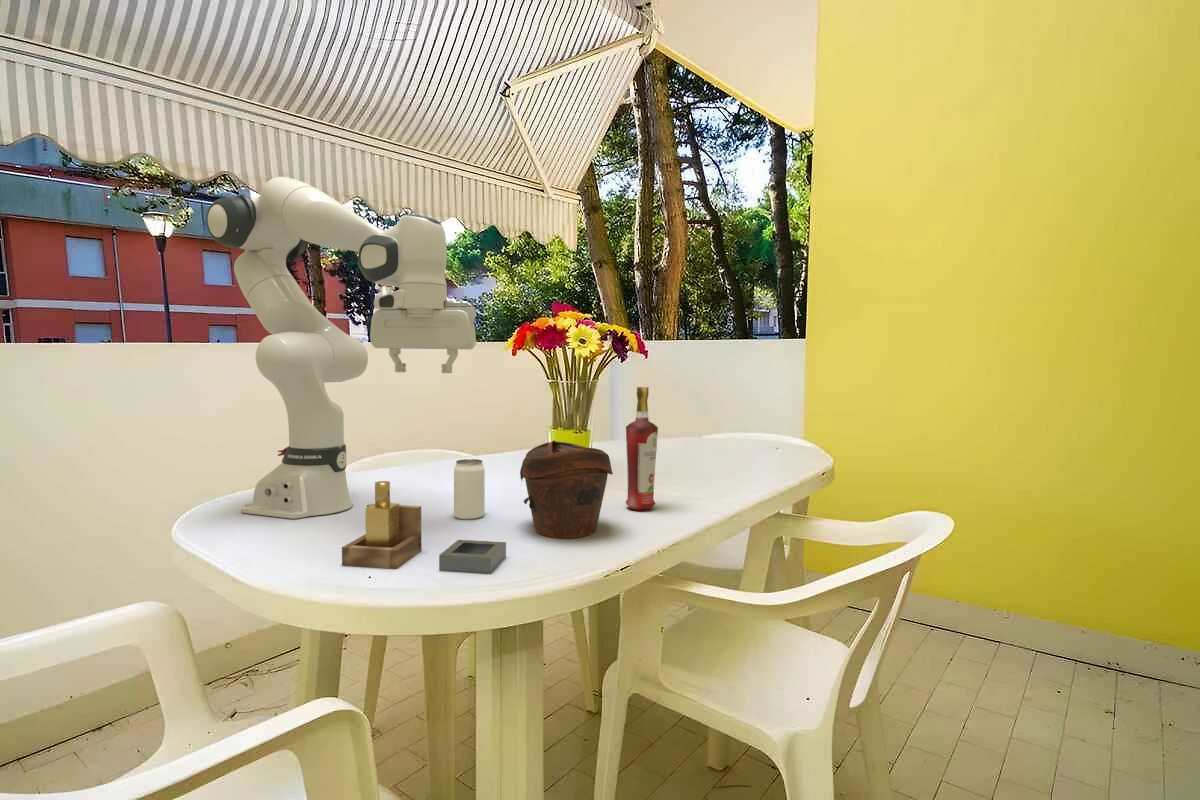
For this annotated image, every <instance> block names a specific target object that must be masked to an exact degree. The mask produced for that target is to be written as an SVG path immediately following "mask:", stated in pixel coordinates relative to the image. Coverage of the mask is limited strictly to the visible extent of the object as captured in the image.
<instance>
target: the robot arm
mask: <svg viewBox="0 0 1200 800" xmlns="http://www.w3.org/2000/svg"><path fill="white" fill-rule="evenodd" d="M206 226H207V230H208V233H209V234H210V237H211V239H213V240H214V241H215V242H216V243H217V244H220V245H223V246H225V247H227V248H232V249H242V250H244V252H243V253H241V254H240V255H239V256H238V257H237V259H235V261H234V265H233V272H234V275H235V278H236V281H237V283H238V286H239V288H240V290H241V292H242V295H243V296H244V298H245V299H246V301H247V303H248V304H249V306H250V308H251V310H253V313H254V314H255V316H256V317H257V319H258V320H259V322H260V324H261V326H263V328H264V329H265V330H266V331H267V332H268V333H270V335H269V334H268V335H267V336H264V337H263V338H262V339H261V341H260V342H259V344H258V346H257V348H256V352H255V363H256V364H255V365H256V366H257V369H258V371H259V372H260V374H261V375H262V376H263V377H264V378H265V379H267V380H268V382H270V383H271V384H272V385H273V386H274V387H275V388H276V389H277V392H278V393H279V394H280V396H281V398H282V400H283V403H284V405H285V409H286V413H287V422H288V425H287V426H288V446H287V447H285V448H284V449H280V450H277V451H276V452H277V453H278V454H277V457H280V456H283V457H282V460H281V463H280V464H279V465H277V466H276V467H275V468H274V469H272V470H271V471H270V472H268V473H267V474H266V475H265V476H263V477H262V478H261V479H259V480H258V482H257V483H256V484H255V487H254V491H253V499H252V501H250V502H248V503H246V504H245V505H243V506H242V507H241V510H240V511H241V513H243V514H250V515H251V514H252V515H258V516H267V517H276V518H283V519H300V518H302V519H303V518H307V517H312V516H315V517H316V516H323V515H330V514H334V513H340V512H343V511H346V510H348V509H351V508H352V507H353V502H352V498H351V495H350V492H349V487H348V481H347V474H346V468H347V444H345V439H344V438H345V435H344V434H345V433H344V431H345V430H344V427H345V426H344V425H345V423H344V422H345V421H344V420H345V419H344V411H343V409H342V407H341V406H340V405H339V404H338V403H336V402H335V401H332V399H331V398H330V396H329V395H328V393H327V390H326V385H325V383H342V382H346V381H349V380H353V379H355V378H356V379H357V378H358V377H360V376H361V375H363V374H364V372H365V371H366V369H367V366H368V362H369V356H368V351H367V348H366V346H365V345H364V343H363V342H362V341H361V340H359V338H355V337H354V336H352V335H349V334H347V333H346V332H345V331H343V330H342V329H341V328H339V327H338V326H337V325H336V324H334V323H333V322H332V321H330V320H329V319H328V318H327V317H326V316H325V315H323V314H322V313H321V311H319V310H318V309H317V308H316V307H315V306H314V305H313V303H312V302H311V300H309V298H308V297H307V295H306V294H305V293H304V291H303V289H302V288H301V287H300V285H299V284H298V282H297V281H296V279H295V278H294V276H293V275H292V273H290V271H289V270H288V268H287V263H290V262H295V261H297V260H298V259H299V258H300V257H299V256H300V255H301V254H302V253H304V252H305V251H306V249H307V248H308V247H309V245H310V244H314V245H316V246H321V247H326V248H334V249H340V250H346V251H351V252H356V253H357V254H358V255H357V263H358V267H359V270H360V272H361V274H362V275H363V277H364V278H365V279H366V280H367V281H369V282H372V283H373V284H378V285H384V286H390V287H394V288H398V290H394V291H392V292H389V293H386V294H383V295H381V296H377V297H376V298H374V300H373V306H374V308H375V309H377V310H376V311H374V312H373V314H372V316H371V321H370V330H369V331H370V332H369V333H370V335H369V336H370V337H369V338H370V340H369V341H370V344H371V346H373V348H374V349H388V355H389V356H390V358H391V361H392V362H393V364H394V372H395V373H406V372H407V369H406V367H407V363H403V362H402V360H401V358H400V356H399V355H401V353H402V352H401V351H402V349H403V350H404V349H405V350H407V349H408V350H409V349H411V350H412V349H413V350H415V349H417V350H421V349H422V350H446V355H448V356H449V357H448V359H447V360H446V362H445V363H441V373H442V374H453V364H454V362H455V361H456V359H457V358H458V356H459V350H473V349H474V348H475V346H476V345H477V336H476V328H475V327H476V326H475V322H476V309H475V306H474V305H473V304H472V303H469V301H465V300H461V301H453V300H448V294H447V289H448V285H447V281H446V276H445V275H446V273H445V272H446V268H447V263H448V261H447V259H448V257H447V255H448V254H447V253H448V252H447V250H448V249H447V240H446V239H447V238H446V233H445V229H444V226H443V224H442V223H441V222H440V221H439V220H437V219H434V218H432V217H428V216H424V215H420V214H415V213H414V214H413V213H407V214H404V215H402V216H401V217H400V218H399V221H398V222H397V223H396V224H395V225H394V226H392V227H390V228H389V229H387V230H384V229H382V228H380V227H378V226H376V225H374V224H373V223H371V222H369V221H367V220H366V219H365V218H364V217H361V216H360V215H358V213H356V212H354V211H352V210H351V209H349V208H348V207H346V206H345V205H343V204H342V203H340V202H339V201H338V200H337V199H334V198H333V197H332V196H330V195H329V194H326V193H325V192H324V191H323V190H321V189H318V188H316V187H314V186H313V185H310V184H309V183H306V182H304V181H301V180H298V179H295V178H292V177H287V176H276V177H273V178H271V179H269V180H268V181H267V182H266V183H265V184H264V185H263V187H262V189H261V192H260V195H259V196H258V197H252V198H251V197H248V196H247V195H246V194H244V193H243V194H238V195H235V196H234V195H233V196H228V197H227V196H226V197H221V198H218V199H216V200H215V201H213V202H212V203H211V204H210V206H209V207H208V209H207V213H206Z"/></svg>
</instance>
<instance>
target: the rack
mask: <svg viewBox="0 0 1200 800" xmlns="http://www.w3.org/2000/svg"><path fill="white" fill-rule="evenodd" d="M373 504H374V503H368V504H367V505H366V508H367V507H369V506H371V505H373ZM420 552H422V506H421V505H408V504H406V505H404V504H399V544H398V545H397V546H395V547H394V548H388V547H371V546H366V533H365V534H363V535H362V536H359V537H358V538H355V540H353V541H351V542H349V543H347V544H345V545H343V546H342V547H341V566H349V567H363V568H379V569H381V568H382V569H395V570H396V569H398V568H400V567H402V566H403V565H404V564H406V563H407V562H408V561H409V560H411V559H412V558H414V557H415V556H416V555H418V554H419V553H420Z"/></svg>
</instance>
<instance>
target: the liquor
mask: <svg viewBox="0 0 1200 800" xmlns="http://www.w3.org/2000/svg"><path fill="white" fill-rule="evenodd" d="M649 393H650V392H649V386H648V387H647V386H636V399H637V402H636V404H637V405H636V413H635V421H633V422H629V423H628V424H627V425H626V426H625V436H626V439H625V441H626V442H625V443H626V444H625V446H626V448H625V449H626V471H627V499H626V500H625V504H626V505H627V506H628V507H629V509H630V510H632V511H637V512H644V511H645V512H646V511H650V510H651V509H652V508H653V507H654V506H655V504H656V501H655V499H654V493H655V479H656V478H655V476H656V475H655V474H656V461H657V450H658V431H659V427H658V426H657V425H656V424H655V423H653V422H652V421H650V420H649V419H650V418H649V408H648V407H649V406H648V405H649V404H648V400H649Z"/></svg>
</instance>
